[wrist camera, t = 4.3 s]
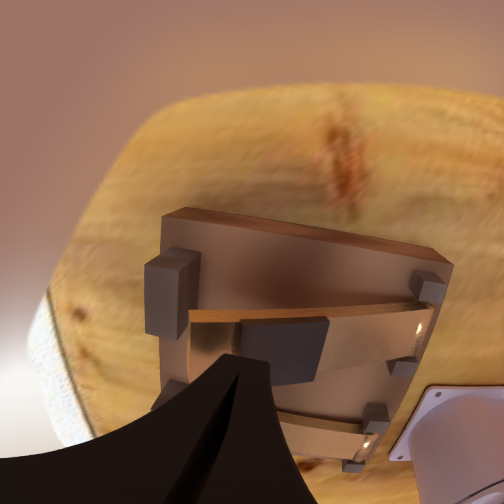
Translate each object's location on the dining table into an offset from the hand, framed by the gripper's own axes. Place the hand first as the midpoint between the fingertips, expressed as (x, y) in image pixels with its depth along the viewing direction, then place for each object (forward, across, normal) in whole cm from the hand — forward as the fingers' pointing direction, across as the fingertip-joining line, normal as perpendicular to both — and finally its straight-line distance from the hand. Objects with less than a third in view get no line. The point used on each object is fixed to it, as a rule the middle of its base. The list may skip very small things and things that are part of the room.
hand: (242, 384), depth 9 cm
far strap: (+6, -2, +8) cm, 10 cm away
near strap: (+4, -2, 0) cm, 5 cm away
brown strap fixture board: (+9, -2, +4) cm, 10 cm away
